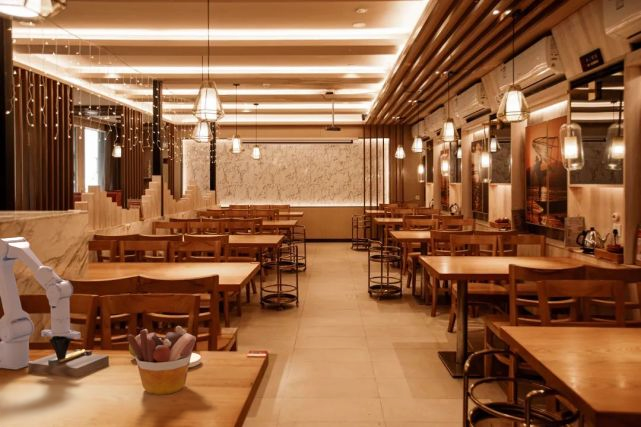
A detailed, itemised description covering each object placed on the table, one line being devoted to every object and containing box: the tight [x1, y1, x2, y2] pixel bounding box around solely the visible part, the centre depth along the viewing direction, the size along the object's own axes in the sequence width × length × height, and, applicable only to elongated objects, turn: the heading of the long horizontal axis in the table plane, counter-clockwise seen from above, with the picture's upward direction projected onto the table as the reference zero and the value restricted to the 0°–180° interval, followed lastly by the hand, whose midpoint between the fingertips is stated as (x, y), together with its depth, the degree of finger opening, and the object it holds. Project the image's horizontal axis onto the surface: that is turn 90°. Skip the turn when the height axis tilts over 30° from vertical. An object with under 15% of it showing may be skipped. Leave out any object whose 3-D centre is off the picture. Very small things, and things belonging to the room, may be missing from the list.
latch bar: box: [54, 349, 87, 362], centre depth 189 cm, size 3×12×1 cm, turn 161°
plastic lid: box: [189, 352, 202, 368], centre depth 192 cm, size 14×14×2 cm
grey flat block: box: [27, 349, 110, 379], centre depth 189 cm, size 20×15×5 cm
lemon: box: [128, 335, 138, 357], centre depth 200 cm, size 6×6×8 cm
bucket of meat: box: [126, 325, 197, 396], centre depth 167 cm, size 20×16×20 cm
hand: (61, 358), depth 185 cm, fingers closed, pressing on latch bar
